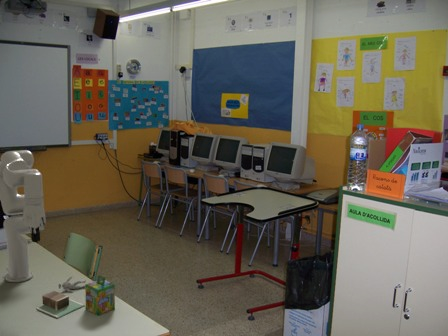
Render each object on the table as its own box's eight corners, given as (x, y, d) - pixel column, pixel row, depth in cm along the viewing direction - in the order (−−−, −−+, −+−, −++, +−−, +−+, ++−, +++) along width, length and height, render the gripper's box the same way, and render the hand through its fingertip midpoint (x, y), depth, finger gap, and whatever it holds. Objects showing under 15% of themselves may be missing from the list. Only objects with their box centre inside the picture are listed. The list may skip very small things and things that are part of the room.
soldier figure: (86, 292, 223) (61, 290, 215) (82, 296, 225) (57, 294, 218) (86, 276, 227) (61, 274, 220) (81, 281, 230) (57, 278, 223)
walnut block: (42, 295, 206) (56, 301, 200) (54, 290, 211) (68, 296, 205) (42, 304, 206) (57, 310, 201) (54, 299, 211) (69, 305, 206)
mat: (36, 309, 202) (36, 308, 202) (63, 297, 214) (63, 296, 214) (57, 318, 195) (57, 317, 195) (84, 305, 206) (84, 304, 206)
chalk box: (85, 309, 203) (84, 277, 201) (102, 302, 210) (102, 270, 208) (98, 316, 197) (97, 283, 195) (115, 308, 204) (115, 276, 202)
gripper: (15, 199, 206) (18, 240, 209) (37, 205, 198) (39, 246, 201) (31, 196, 212) (33, 235, 215) (52, 201, 204) (54, 242, 207)
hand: (35, 241), depth 208 cm, fingers closed
